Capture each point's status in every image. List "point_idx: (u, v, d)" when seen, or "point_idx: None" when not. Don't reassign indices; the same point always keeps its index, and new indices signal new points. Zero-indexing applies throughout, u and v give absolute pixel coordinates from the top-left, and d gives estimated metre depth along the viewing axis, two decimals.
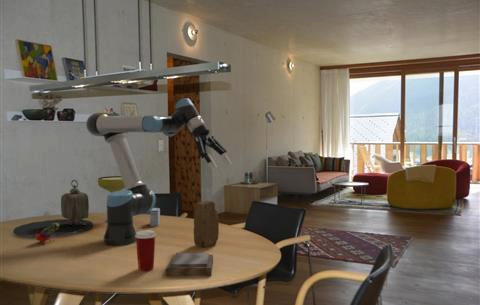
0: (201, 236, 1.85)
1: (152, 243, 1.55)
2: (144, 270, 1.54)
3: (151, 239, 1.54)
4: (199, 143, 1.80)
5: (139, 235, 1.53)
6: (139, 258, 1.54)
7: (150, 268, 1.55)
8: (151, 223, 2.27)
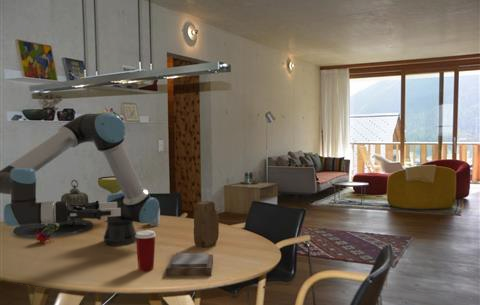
0: (201, 236, 1.85)
1: (152, 243, 1.55)
2: (144, 270, 1.54)
3: (151, 239, 1.54)
4: None
5: (139, 235, 1.53)
6: (139, 258, 1.54)
7: (150, 268, 1.55)
8: (151, 223, 2.27)
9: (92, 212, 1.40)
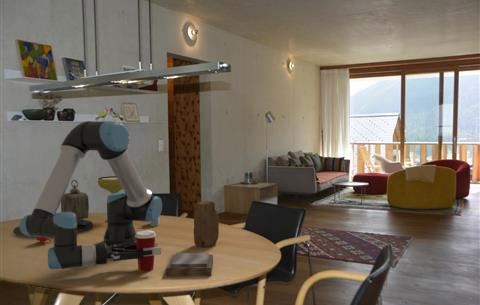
0: (201, 236, 1.85)
1: (152, 243, 1.55)
2: (144, 270, 1.54)
3: (151, 239, 1.54)
4: None
5: (139, 235, 1.53)
6: None
7: (150, 268, 1.55)
8: (151, 223, 2.27)
9: (136, 253, 1.49)
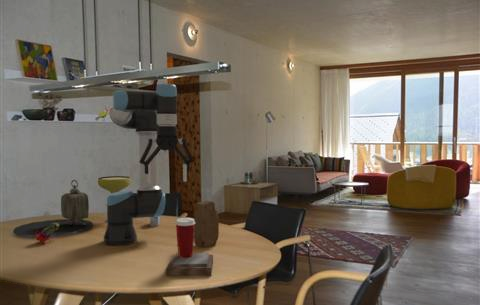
0: (201, 236, 1.85)
1: (191, 230, 1.57)
2: (184, 256, 1.58)
3: (191, 227, 1.57)
4: (146, 148, 1.53)
5: (179, 222, 1.56)
6: (179, 245, 1.58)
7: (189, 255, 1.58)
8: (151, 223, 2.27)
9: None
